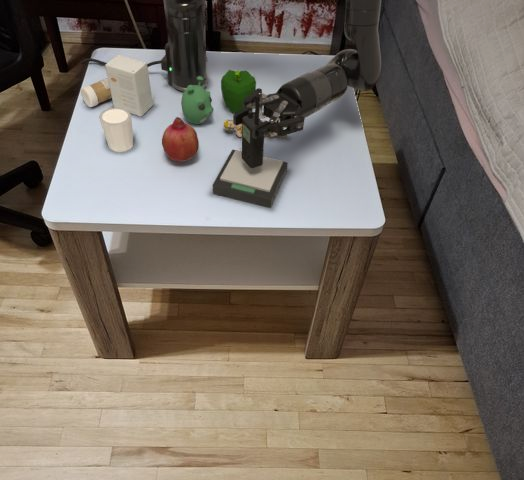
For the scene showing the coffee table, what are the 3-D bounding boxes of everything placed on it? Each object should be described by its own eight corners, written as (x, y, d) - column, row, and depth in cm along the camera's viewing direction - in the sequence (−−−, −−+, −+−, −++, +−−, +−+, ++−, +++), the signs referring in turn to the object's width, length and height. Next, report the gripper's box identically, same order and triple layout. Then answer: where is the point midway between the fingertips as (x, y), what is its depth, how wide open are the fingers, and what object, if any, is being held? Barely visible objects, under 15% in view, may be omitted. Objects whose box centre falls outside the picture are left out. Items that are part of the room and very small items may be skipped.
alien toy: (204, 134, 119) (202, 93, 111) (177, 124, 121) (173, 83, 112) (219, 120, 123) (218, 79, 114) (192, 110, 124) (190, 69, 116)
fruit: (158, 166, 112) (153, 125, 103) (170, 145, 116) (166, 104, 108) (193, 173, 111) (191, 132, 103) (204, 152, 115) (202, 111, 107)
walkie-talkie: (240, 156, 107) (241, 88, 94) (254, 152, 108) (256, 83, 95) (251, 170, 105) (254, 101, 92) (265, 165, 106) (269, 96, 93)
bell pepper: (231, 95, 129) (231, 54, 121) (259, 104, 127) (261, 64, 119) (214, 111, 125) (213, 70, 116) (244, 121, 123) (245, 80, 115)
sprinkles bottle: (136, 92, 128) (91, 111, 123) (125, 78, 128) (79, 97, 123) (138, 79, 124) (91, 98, 119) (126, 64, 124) (79, 83, 119)
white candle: (130, 155, 113) (124, 127, 107) (100, 150, 114) (93, 122, 108) (140, 138, 117) (135, 109, 111) (111, 133, 117) (105, 104, 112)
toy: (287, 138, 117) (223, 132, 115) (284, 145, 122) (222, 139, 120) (289, 115, 116) (224, 108, 115) (286, 123, 122) (224, 116, 120)
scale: (212, 193, 108) (212, 182, 105) (232, 158, 115) (232, 146, 112) (270, 208, 106) (271, 197, 104) (286, 171, 113) (288, 160, 111)
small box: (153, 106, 124) (148, 62, 116) (141, 117, 121) (134, 73, 113) (126, 97, 126) (118, 53, 117) (113, 108, 123) (104, 64, 114)
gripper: (282, 63, 104) (219, 92, 97) (333, 93, 98) (270, 126, 92) (279, 98, 110) (220, 127, 103) (327, 128, 105) (268, 161, 98)
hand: (244, 126), depth 98 cm, fingers closed on walkie-talkie, 5 cm apart
